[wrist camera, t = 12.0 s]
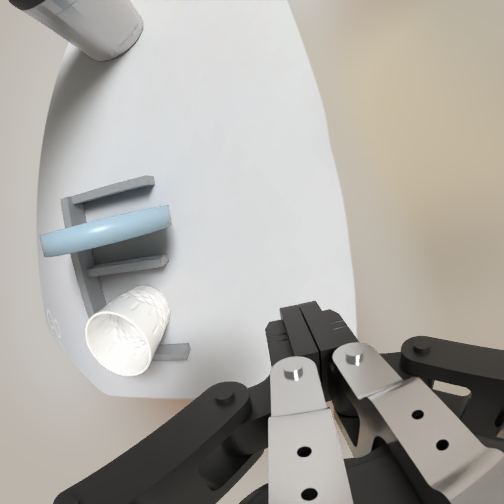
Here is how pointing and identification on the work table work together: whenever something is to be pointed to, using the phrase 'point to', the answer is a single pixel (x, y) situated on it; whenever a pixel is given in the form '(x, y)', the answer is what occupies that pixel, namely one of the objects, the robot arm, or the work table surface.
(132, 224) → the dish rack
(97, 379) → the work table surface
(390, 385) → the robot arm
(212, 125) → the work table surface
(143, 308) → the white cup
